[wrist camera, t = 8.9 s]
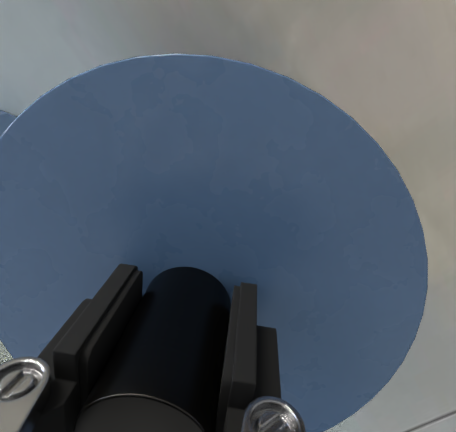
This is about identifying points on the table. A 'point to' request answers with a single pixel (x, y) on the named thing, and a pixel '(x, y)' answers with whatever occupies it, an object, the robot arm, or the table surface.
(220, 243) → the lid
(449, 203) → the table surface
